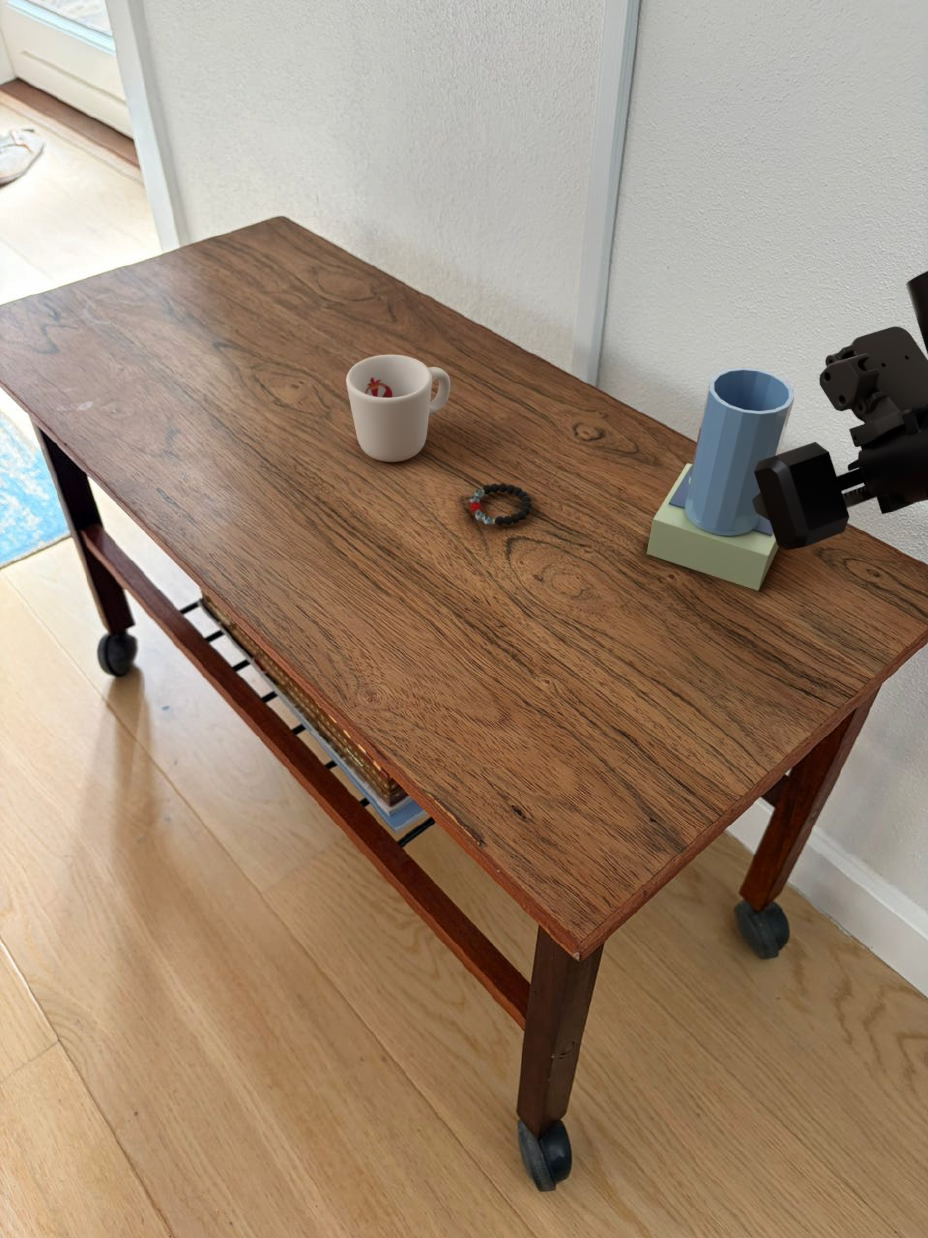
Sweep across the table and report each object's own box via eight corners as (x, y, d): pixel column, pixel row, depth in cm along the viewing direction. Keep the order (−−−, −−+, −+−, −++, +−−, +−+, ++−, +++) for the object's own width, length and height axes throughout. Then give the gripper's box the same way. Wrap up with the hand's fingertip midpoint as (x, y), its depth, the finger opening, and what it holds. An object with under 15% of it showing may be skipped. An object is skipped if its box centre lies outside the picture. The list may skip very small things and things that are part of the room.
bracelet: (463, 493, 95) (463, 484, 94) (522, 485, 96) (523, 477, 95) (476, 532, 91) (477, 523, 90) (538, 523, 92) (539, 515, 91)
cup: (424, 405, 105) (423, 335, 100) (472, 441, 101) (473, 370, 95) (336, 442, 101) (329, 371, 95) (381, 481, 96) (377, 409, 90)
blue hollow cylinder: (772, 530, 85) (808, 407, 77) (701, 540, 84) (728, 417, 76) (741, 483, 90) (772, 363, 81) (673, 493, 89) (696, 372, 80)
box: (786, 530, 92) (797, 493, 89) (758, 591, 86) (769, 554, 83) (680, 497, 95) (687, 460, 92) (646, 554, 89) (653, 517, 86)
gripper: (1038, 282, 65) (865, 355, 79) (810, 351, 58) (668, 417, 73) (1088, 450, 65) (908, 492, 80) (868, 536, 59) (716, 564, 74)
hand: (803, 488), depth 77 cm, fingers open, 9 cm apart
